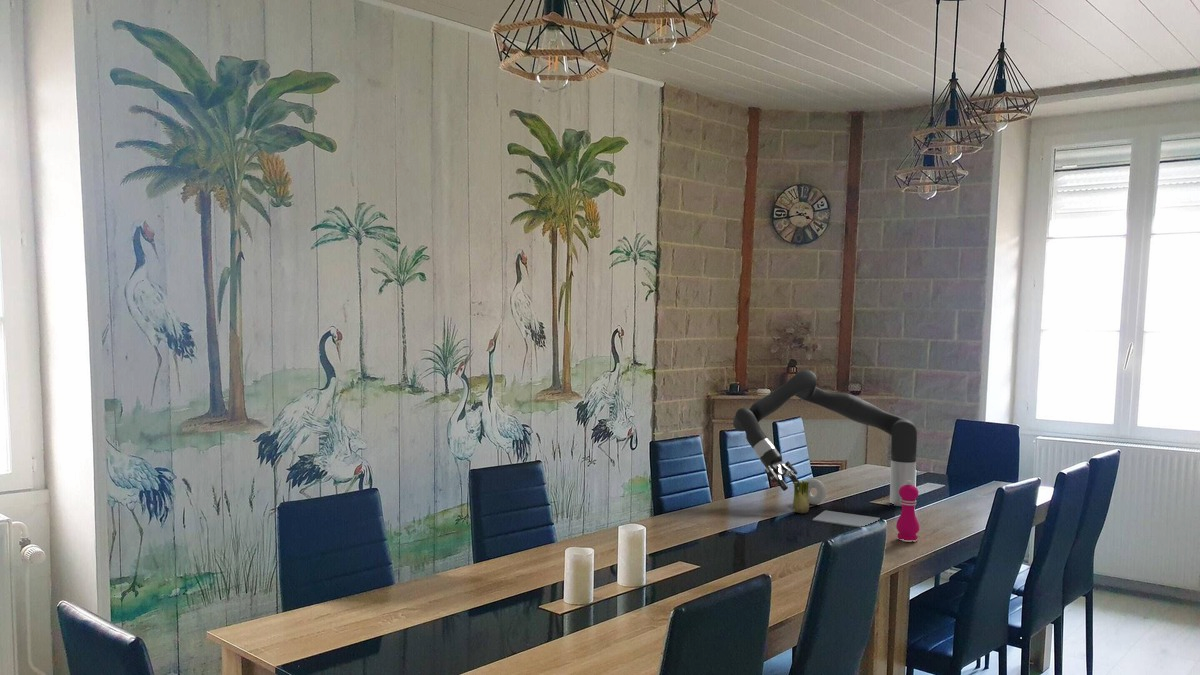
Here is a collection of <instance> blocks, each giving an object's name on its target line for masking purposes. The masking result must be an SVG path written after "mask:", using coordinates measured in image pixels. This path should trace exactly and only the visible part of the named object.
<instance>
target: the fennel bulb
mask: <svg viewBox="0 0 1200 675" xmlns="http://www.w3.org/2000/svg"><path fill="white" fill-rule="evenodd" d="M793 485H794V486H793V487H794V490H793V492H794V493H793V500H792V502H793V510H794V512H795V513H798V514H807V513H809V509H810V503H809V496H808V485H809V482H807V480H801V481H799V487H798V483H797V482H794V484H793Z"/></svg>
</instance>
